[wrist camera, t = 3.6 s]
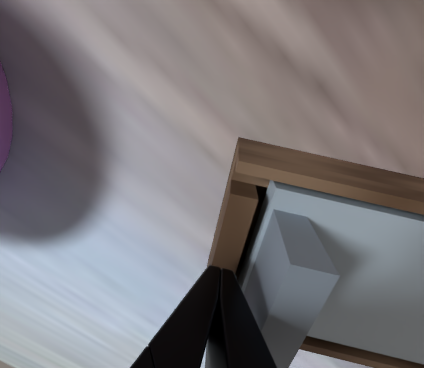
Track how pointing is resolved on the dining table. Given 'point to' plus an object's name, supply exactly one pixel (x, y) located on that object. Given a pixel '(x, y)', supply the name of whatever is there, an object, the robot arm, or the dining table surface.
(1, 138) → the container set
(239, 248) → the case
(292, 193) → the lid
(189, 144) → the dining table surface
